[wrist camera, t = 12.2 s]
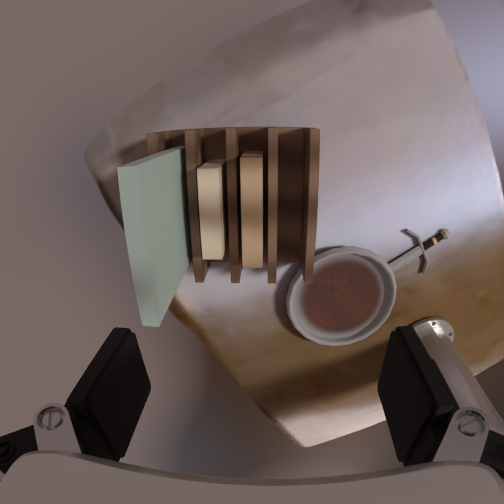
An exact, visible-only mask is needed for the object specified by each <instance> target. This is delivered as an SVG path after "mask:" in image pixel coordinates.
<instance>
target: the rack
mask: <svg viewBox="0 0 504 504" xmlns="http://www.w3.org/2000/svg"><path fill="white" fill-rule="evenodd" d="M146 137H147V154H148V156H150V155H153V154H156V153H159V152H162V151H165V150H168V149H171V148H174V147H177V146H185V150H186V170H187V187H188V203H189V216H190V229H191V241H192V253H193V258H192V260H191V262H193V264H194V274H195V282H204V279H205V277H206V274H207V271H208V268H209V266H210V263H211V262H230V271H231V283H239V282H240V276H241V270H242V224H241V179H240V157H241V156H242V155H243V153H244V152H245V151H263V262H268V283H276V265H277V262H300V266H301V270H302V275H303V280H304V283H313V270H314V257H315V242H316V226H317V207H318V184H319V151H320V129H316V128H304V127H225V128H202V129H186V130H173V131H163V132H155V133H149V134H146ZM212 159H226V160H227V194H228V222H229V239H228V243H227V246H226V249H225V252H224V256H223V259H222V260H219V259H203V257H202V244H201V230H200V215H199V199H198V181H197V169H198V168H199V167H200V166H202V165H203V164H205V163H206V162H207V161H209V160H212Z"/></svg>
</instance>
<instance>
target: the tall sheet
mask: <svg viewBox="0 0 504 504" xmlns="http://www.w3.org/2000/svg"><path fill="white" fill-rule="evenodd" d="M117 171H118V181H119V191H120V199H121V208H122V215H123V223H124V230H125V236H126V242H127V249H128V255H129V261H130V267H131V272H132V277H133V283H134V287H135V293H136V298H137V302H138V306H139V312H140V316H141V321H142V325H143V326H155V327H159V326H160V324H161V322H162V319H163V317H164V315H165V313H166V311H167V309H168V307H169V305H170V303H171V301H172V299H173V296H174V294H175V292H176V290H177V288H178V286H179V284H180V282H181V280H182V278H183V276H184V274H185V272H186V270H187V268H188V266H189V264H190V262H191V260H192V258H193V253H192V241H191V229H190V216H189V203H188V187H187V170H186V150H185V146H177V147H174V148H171V149H168V150H165V151H162V152H159V153H156V154H153V155H150V156H147V157H144V158H141V159H139V160H136V161H133V162H130V163H128V164H125V165H122V166H120V167H117Z"/></svg>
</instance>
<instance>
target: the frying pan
mask: <svg viewBox="0 0 504 504" xmlns="http://www.w3.org/2000/svg"><path fill="white" fill-rule="evenodd" d="M405 231H406V232H407V233H409V234H411V235H413V236H414V237H416V239H417V241H418V244H419V246H417V247H415V248H414V249H412V250H411V251H409V252H407V253H406V254H404V255H403V256H401V257H399V258H398V259H396V260H395V261H393V262H391V263H390V264H387V262H386V261H385V259H384V258H382V257H381V256H379V255H377V254H376V253H374V252H373V251H371V250H368V249H363V248H359V247H354V246H350V247H340V248H333V249H330V250H328V251H325V252H323V253H320V254H318V255H316V256H315V257H314V270H313V283H304V280H303V275H302V270H301V268H300V269H299V271H298V272H297V273H296V275H295V276H294V278H293V279H292V281H291V282H290V285H289V289H288V292H287V296H286V306H287V314H288V316H289V318H290V320H291V322H292V325H293V327H294V328H296V329H297V330H298V331H299V332H300V333H301V334H302V335H303V336H304V337H306V338H307V339H310V340H312V341H314V342H316V343H319V344H324V345H331V346H338V345H346V344H351V343H354V342H357V341H359V340H362V339H364V338H366V337H367V336H369V335H370V334H372V333H373V332H374V331H376V330H377V329H378V328H379V327H380V326H381V325H382V324H383V323H384V321H385V320H386V319H387V318H388V316H389V314H390V312H391V310H392V307H393V305H394V303H395V296H396V287H397V285H396V281H395V277H394V273H393V272H395V271H396V270H398V269H400V268H401V267H403V266H404V265H406V264H408V263H409V262H411V261H412V260H414V259H416V258H417V257H419V256H420V255H422V254H423V257H424V259H425V262H424V266H423V270H422V272H423V274H424V275H425V273H426V269H427V265H428V262H429V260H428V257H427V254H426V252H425V250H427V249H428V248H430V247H431V246H433V245H435V244H437V242H439V241H441V240H442V239H448V237H449V231H448V230H447V229H442V230H441V232H440V234H439V235H437V236H436V237H433V238H432V239H431V240H429V241H428V242H426V243H425V244H422V242H421V239H420V237H419V236H418V235H417V234H415V233H413V232H412V231H410V230H408V229H405Z"/></svg>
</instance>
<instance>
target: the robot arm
mask: <svg viewBox="0 0 504 504" xmlns="http://www.w3.org/2000/svg"><path fill="white" fill-rule="evenodd" d="M453 340H454V330H453V328H452V326H451V325H450V323H449V322H448V321H447V320H445V319H443V318H439V317H430V318H426V319H423V320H420V321H418V322H416V323H415V324H413V325H412V326H400V327H397V328H396V329H395V331H392V332H391V334H390V339H389V343H388V347H387V351H386V355H385V359H384V363H383V367H382V370H381V374H380V378H379V381H378V394H379V397H380V400H381V403H382V407H383V410H384V413H385V416H386V420H387V423H388V427H389V430H390V433H391V437H392V440H393V444H394V448H395V451H396V455H397V458H398V461H399V462H402V461H403V465H404V467H399V468H394V469H388V470H381V471H375V472H367V473H360V474H351V475H342V476H332V477H319V478H300V479H243V478H226V477H213V476H202V475H193V474H185V473H177V472H170V471H163V470H158V469H152V468H146V467H141V466H136V465H130V464H126V463H121V462H119V460H120V457H121V458H123V457H124V456H125V454H126V451H127V448H128V446H129V443H130V441H131V438H132V436H133V433H134V430H135V428H136V425H137V423H138V420H139V418H140V415H141V413H142V410H143V408H144V406H145V403H146V401H147V398H148V396H149V393H150V390H151V384H150V381H149V377H148V374H147V371H146V368H145V365H144V362H143V359H142V355H141V352H140V349H139V345H138V342H137V339H136V335H135V333H133V332H131V330H130V329H129V328H114V329H113V330H112V332H111V333H110V334H109V336H108V337H107V339H106V340H105V342H104V343H103V345H102V346H101V348H100V349H99V351H98V352H97V354H96V355H95V357H94V358H93V360H92V362H91V363H90V364H89V366H88V368H87V369H86V370H85V372H84V374H83V375H82V377H81V378H80V380H79V381H78V383H77V385H76V386H75V388H74V389H73V391H72V393H71V394H70V396H69V397H68V399H67V402H66V403H65V405H64V406H63V405H61V404H58V403H51V404H47V405H45V406H43V407H41V408H40V409H39V410H38V411H37V412H36V414H35V416H34V418H33V424H34V425H31V426H29V427H26V428H23V429H21V430H18V431H16V432H12V433H10V434H7V435H4V436H1V437H0V504H504V422H503V420H502V419H501V417H500V416H499V415H498V413H497V412H496V411H495V409H494V408H493V406H492V405H491V403H490V402H489V400H488V398H487V397H486V395H485V393H484V392H483V390H482V389H481V387H480V385H479V384H478V382H477V380H476V379H475V377H474V375H473V374H472V372H471V371H470V369H469V367H468V366H467V364H466V363H465V361H464V360H463V358H462V357H461V355H460V353H459V352H458V350H457V349H456V347H455V346H454V344H453Z"/></svg>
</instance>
